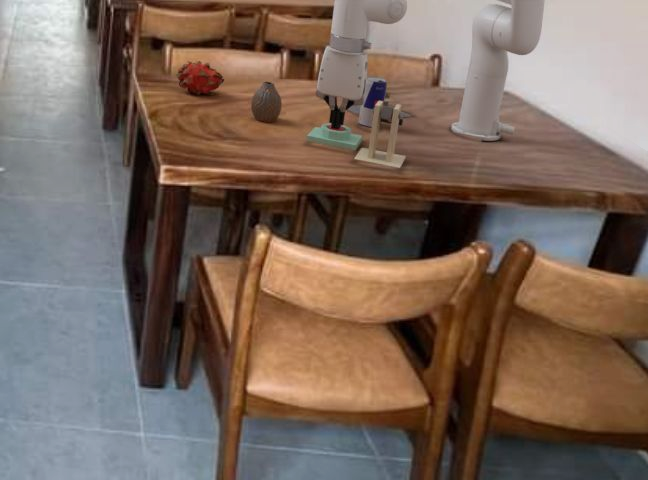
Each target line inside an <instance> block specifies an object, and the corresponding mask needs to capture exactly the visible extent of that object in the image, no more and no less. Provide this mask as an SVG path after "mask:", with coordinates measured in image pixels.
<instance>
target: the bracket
mask: <svg viewBox="0 0 648 480" xmlns="http://www.w3.org/2000/svg"><path fill="white" fill-rule="evenodd" d="M382 106H383V101H378V102H377V104H376V105H375V107H374V109H373V114H374V117H373V124H372V128H371V131H370V137H369V145H368V148H367V147H361V148H360V149H359V150H358V152H357V154H356V155H355V157H354V158H353V160H355V161H359V162H364V163H370V164H374V165H381V166H386V167H390V168H396V169H401V167H402V166H403V163H404V161H405V160H406V158H407V156H406V155H401V154H396V153H395V149H396V143H397V137H398V131H399V130H398V129H399V125H398V124H399V119H402V117H401V115H402V113H401V111H402V104H400V103H397V104H396V105H395V106H394V107H393V108H394V111H393V117H392V124H390V131H389V137H388V143H387V144H388V145H387V149H386V150H387V151H381V150H377V146H378V140H379V139H378V138H379V134H380V133H379V132H380V127H381V126H380V120H381V112H382ZM379 126H380V127H379Z"/></svg>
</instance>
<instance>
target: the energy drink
mask: <svg viewBox="0 0 648 480" xmlns="http://www.w3.org/2000/svg"><path fill="white" fill-rule="evenodd" d="M386 81H387V79H386V78H383V77H379V76H374V75H373V76H372V75H369V76H368V75H367V80H366V89H365V93H364V95H363V97H364V104H363V105H361V108H360V114H359V116H358V125H360V126H362V127H365V128H371V129H372V124H373V117H374V114H373V109H374V107H375V105H376V104H377V102H378V101H383V106H384V100H385V93H386V91H387V85H388V82H387V83H386ZM383 106H382V107H383ZM381 126H382V122H380V126H379V128H381Z"/></svg>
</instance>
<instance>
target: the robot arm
mask: <svg viewBox="0 0 648 480" xmlns="http://www.w3.org/2000/svg"><path fill="white" fill-rule="evenodd" d="M496 1H498V2H501V3H504V4H507V5H510V6H511V7H508V6H505V5H502V4H499V3H498V4H497V3H487V4H485V5H483V6H481V7H480V8H479V9H478V10H476V13H475V14H474V17H473V20H472V25H471V38H472V39H471V41H472V42H471V52H470V59H469V65H468V70H467V75H466V81H465V84H464V85H465V86H464V92H463V96H462V100H461V101H462V102H461V107H460V112H459V113H460V114H459V118H458V121H457V122H453V123H452V124H451V127H450V130H451V131H452V132H453V133H456V134H461V135H466V136H471V137H476V138H481V142H482V141H483V142H494V141H498V140H501V138H502V133H505V134H507V135H514V132H515V129H516V128H515V126H512V125H511V124H507V123H502V122H501V121H500V119H501V117H500V111H501V106H502V102H503V97H504V91H505V87H506V81H507V78H508V77H507V76H508V72H509V55H508V53H510V54H513V55H518V56H526V55H530V54H531V53H532V52H533V51H534V50H535V49H536V48H537V47H538V44H539V42H540V38H541V35H542V34H541V33H542V27H543V20H544V10H545V0H496ZM333 3H334V4H333V12H332V21H331V28H330V35H329V42H328V45H326V46H325V49H324V52H323V54H322V59H321V61H320V66H319V67H320V68H319V72H318V77H317V83H316V84H317V85H316V91H315V95H314V96H315V97H317V98H318V99H320V100H323V101H325V103H326V105H327V106H328V108H329V110H330V111H329V119H328V123H330V124H331V128H336V129H339V128H340V126H341V125H344V123H345V115H346V111H348V110H347V109H348V108H350V107H351V106H361V105H363V104H364V97H363V95H364V93H365V89H366V80H367V76H368V67H367V65H368V64H369V63H368V53H367V52H366V51H365V50H372V46H373V45H372V42H369V41H368V40H367V31H368V25H369V22H375V23H379V24H384V25H392V24H396V23H398V22H400V21H401V20H402V19H403V18H404V17H405V15H406V13H407V11H408V2H407V0H334V2H333ZM368 66H369V65H368ZM338 98H340V99H341V104H340V107H339V105H338Z"/></svg>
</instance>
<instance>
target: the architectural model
mask: <svg viewBox="0 0 648 480" xmlns="http://www.w3.org/2000/svg"><path fill="white" fill-rule="evenodd" d="M386 83H387V84H388V81H387V80H386ZM393 101H394V99H393V98H391V92H388V91H387V90H386V93H385V100H384V106H388V107H392V106H390V102H393ZM360 108H361V106H351V107H350V108H348V109H347V110H346V111H349V112H351V113H353V114H359V115H360ZM394 108H395V107H393V109H394ZM401 113H402V115H401V118H409V117H412V115H411V114H410V113H409V114H408V113H406V112H404V111H402V110H401Z"/></svg>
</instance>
